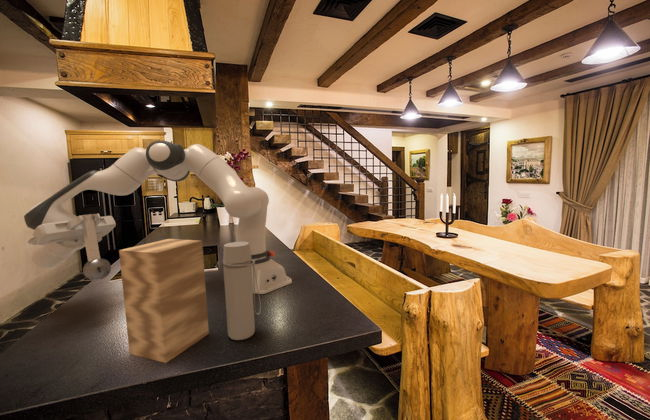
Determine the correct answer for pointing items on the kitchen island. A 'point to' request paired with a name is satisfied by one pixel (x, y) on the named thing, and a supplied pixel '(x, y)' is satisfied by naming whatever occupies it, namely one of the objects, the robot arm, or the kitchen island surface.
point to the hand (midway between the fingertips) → (90, 216)
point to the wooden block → (164, 297)
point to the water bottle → (239, 290)
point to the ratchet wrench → (93, 252)
